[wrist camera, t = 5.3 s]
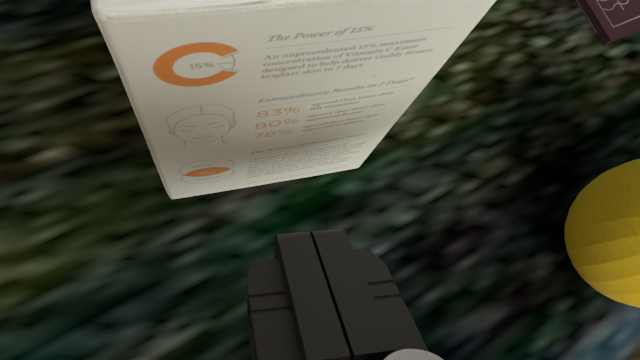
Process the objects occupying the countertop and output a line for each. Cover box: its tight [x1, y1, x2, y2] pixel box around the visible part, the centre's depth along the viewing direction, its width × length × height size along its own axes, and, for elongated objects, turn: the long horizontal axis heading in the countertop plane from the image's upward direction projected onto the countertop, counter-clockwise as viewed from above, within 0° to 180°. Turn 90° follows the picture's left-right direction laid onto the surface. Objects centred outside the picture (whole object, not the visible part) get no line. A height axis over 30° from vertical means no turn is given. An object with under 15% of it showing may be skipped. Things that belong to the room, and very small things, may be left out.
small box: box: [90, 0, 496, 199], centre depth 17 cm, size 8×6×13 cm
